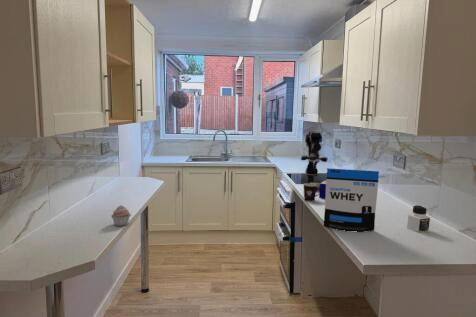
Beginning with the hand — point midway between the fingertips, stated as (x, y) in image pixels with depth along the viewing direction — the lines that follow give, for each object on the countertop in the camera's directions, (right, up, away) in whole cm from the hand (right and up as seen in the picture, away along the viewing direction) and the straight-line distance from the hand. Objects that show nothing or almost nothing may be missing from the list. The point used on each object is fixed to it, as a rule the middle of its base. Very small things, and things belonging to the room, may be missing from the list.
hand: (313, 170), depth 259 cm
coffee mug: (-9, -19, -35) cm, 41 cm away
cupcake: (-115, -24, -86) cm, 146 cm away
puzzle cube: (+4, -18, -26) cm, 32 cm away
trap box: (+4, -14, -6) cm, 16 cm away
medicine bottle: (+34, -27, -84) cm, 95 cm away
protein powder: (-1, -27, -85) cm, 89 cm away
